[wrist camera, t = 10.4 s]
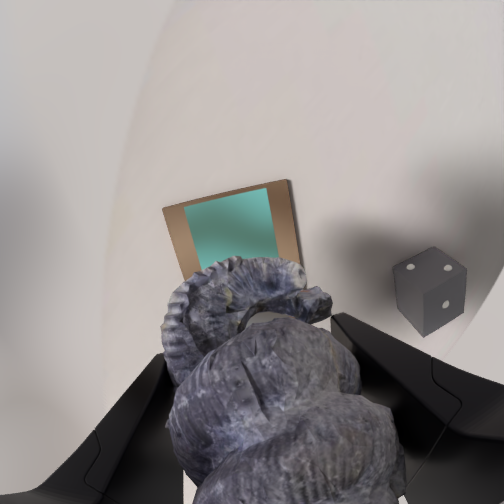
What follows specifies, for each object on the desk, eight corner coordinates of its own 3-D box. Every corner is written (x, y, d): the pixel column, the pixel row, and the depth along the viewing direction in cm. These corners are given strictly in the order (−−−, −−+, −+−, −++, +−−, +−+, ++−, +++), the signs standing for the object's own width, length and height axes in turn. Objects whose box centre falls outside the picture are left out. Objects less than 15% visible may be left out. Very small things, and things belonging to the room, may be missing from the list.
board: (311, 367, 22) (312, 369, 22) (226, 386, 22) (226, 389, 22) (285, 179, 16) (286, 180, 16) (162, 207, 16) (162, 209, 16)
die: (436, 286, 21) (466, 312, 17) (396, 307, 21) (424, 339, 17) (435, 242, 19) (470, 266, 15) (392, 264, 19) (424, 293, 15)
